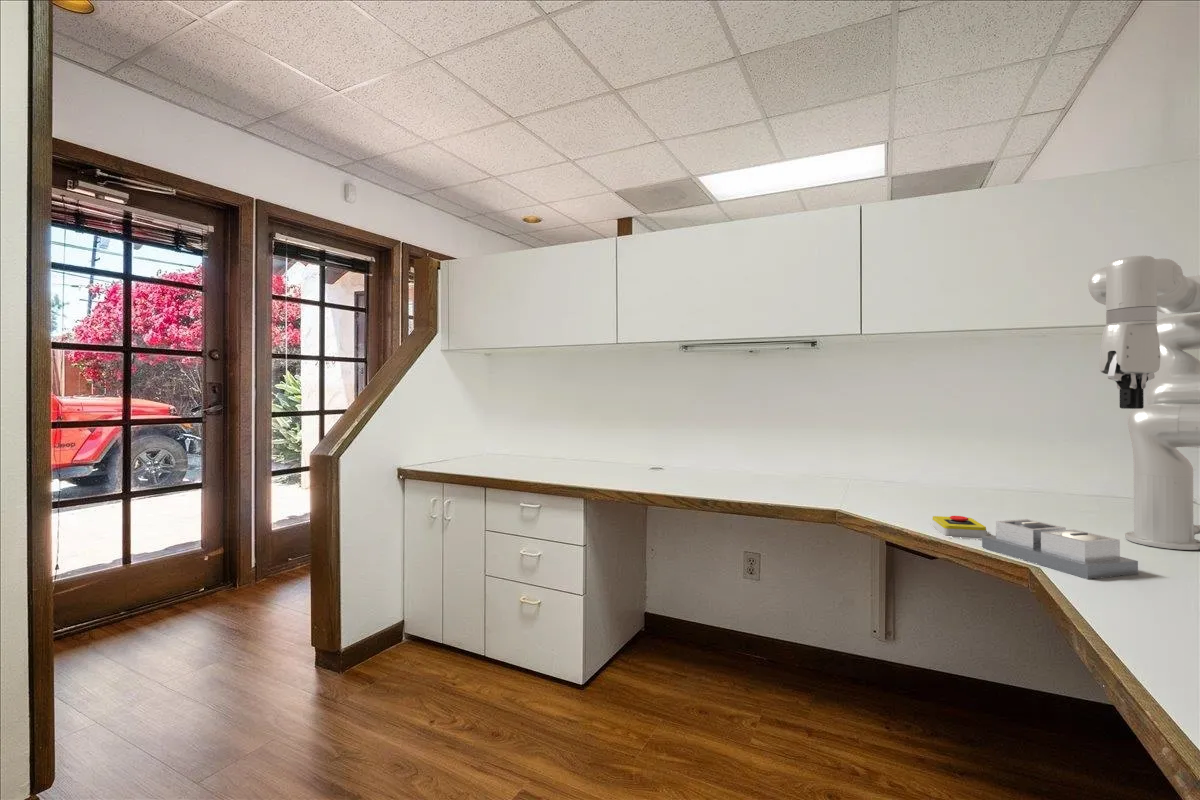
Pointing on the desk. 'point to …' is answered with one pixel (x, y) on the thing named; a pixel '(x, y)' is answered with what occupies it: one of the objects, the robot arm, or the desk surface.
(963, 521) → the emergency button
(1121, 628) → the desk surface
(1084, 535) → the knob ivory
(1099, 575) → the mount
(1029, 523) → the knob black
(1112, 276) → the robot arm
